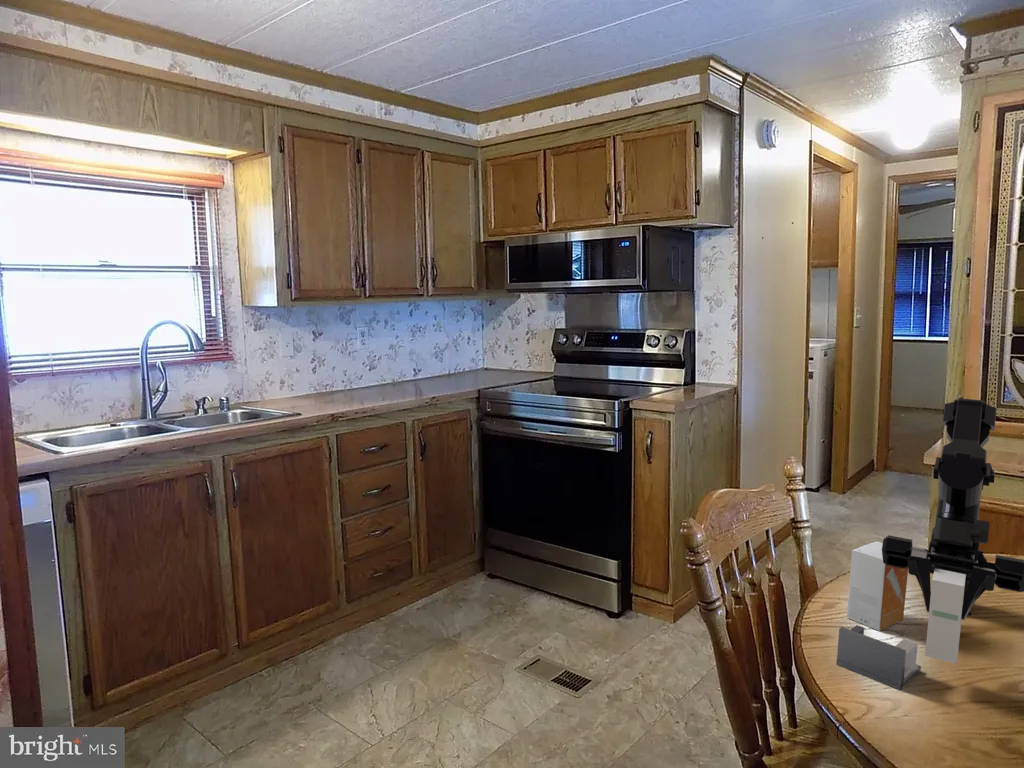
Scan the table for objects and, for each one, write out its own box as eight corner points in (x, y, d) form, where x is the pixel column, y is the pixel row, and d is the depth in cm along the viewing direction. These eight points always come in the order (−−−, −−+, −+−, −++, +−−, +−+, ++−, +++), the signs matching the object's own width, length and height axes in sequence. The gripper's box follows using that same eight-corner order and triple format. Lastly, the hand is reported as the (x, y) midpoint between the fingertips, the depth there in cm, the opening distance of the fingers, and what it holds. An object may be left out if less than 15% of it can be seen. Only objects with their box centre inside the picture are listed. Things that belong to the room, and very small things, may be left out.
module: (928, 641, 110) (934, 568, 108) (958, 649, 107) (965, 574, 106) (925, 655, 106) (932, 579, 104) (956, 664, 103) (964, 586, 102)
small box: (880, 632, 123) (885, 560, 121) (845, 617, 128) (850, 549, 126) (904, 620, 127) (910, 551, 125) (870, 606, 132) (875, 540, 130)
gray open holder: (858, 647, 117) (861, 613, 117) (920, 671, 110) (923, 635, 109) (836, 664, 112) (838, 629, 111) (899, 690, 105) (903, 652, 104)
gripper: (888, 486, 112) (872, 576, 104) (1034, 507, 101) (1028, 609, 94) (890, 520, 119) (876, 606, 112) (1027, 543, 109) (1020, 640, 101)
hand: (945, 614), depth 104 cm, fingers closed on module, 4 cm apart
